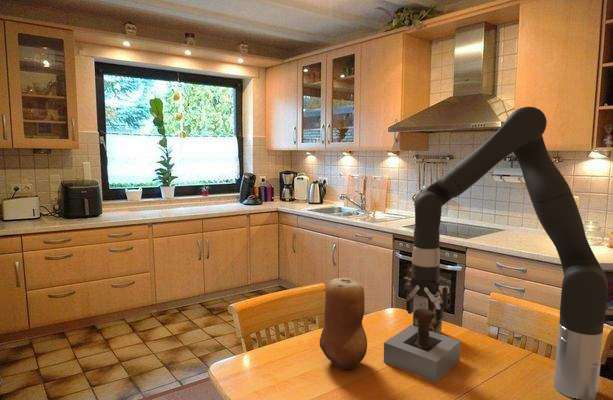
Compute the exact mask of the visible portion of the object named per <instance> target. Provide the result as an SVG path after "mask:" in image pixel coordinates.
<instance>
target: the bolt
mask: <svg viewBox="0 0 613 400" xmlns="http://www.w3.org/2000/svg"><path fill="white" fill-rule="evenodd" d="M414 317H415V318H417V319H418V341H416V342H415V344H414V347H416V348H419V349H422V350H425V351H427V352H429V351H430V350H431V349H432V345H431V344H430V343H429V324H430V321H431V320H432V319H433V318H434V313H433V312H432V311H431V310H427V309H417V310H415V312H414Z"/></svg>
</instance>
